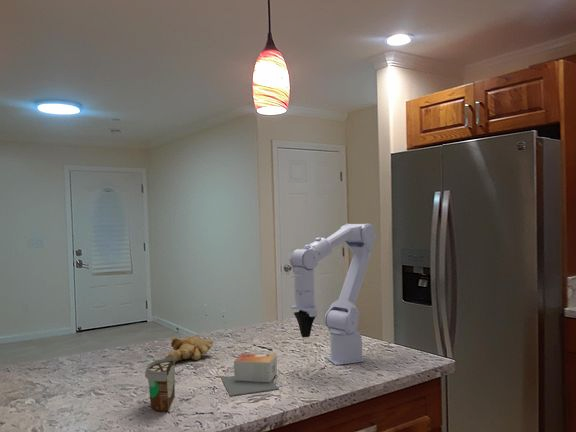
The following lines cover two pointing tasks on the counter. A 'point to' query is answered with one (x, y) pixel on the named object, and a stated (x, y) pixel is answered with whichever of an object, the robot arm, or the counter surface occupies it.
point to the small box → (255, 367)
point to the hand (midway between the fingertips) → (305, 336)
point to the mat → (246, 386)
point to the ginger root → (189, 348)
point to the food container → (161, 384)
